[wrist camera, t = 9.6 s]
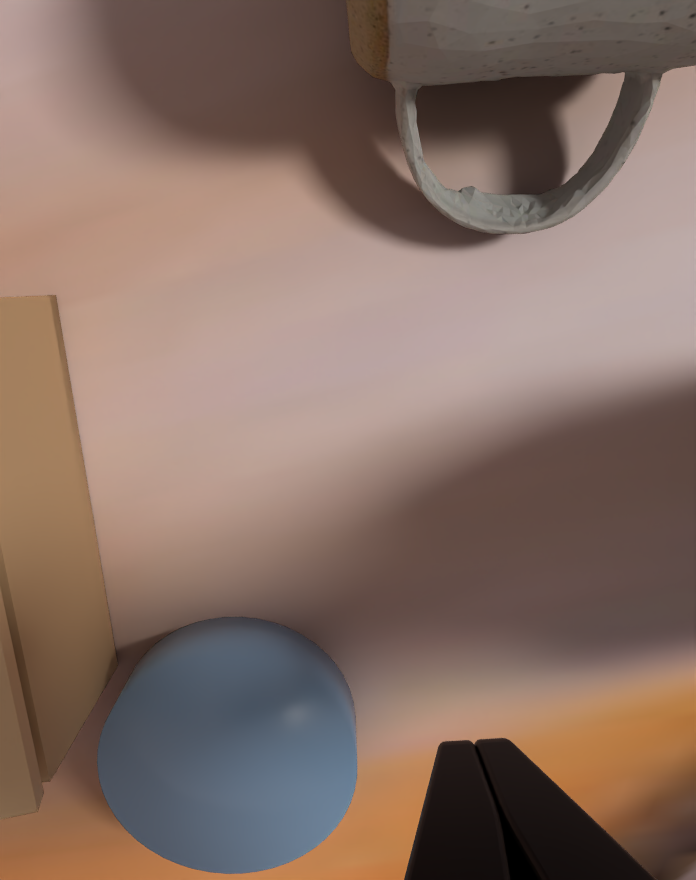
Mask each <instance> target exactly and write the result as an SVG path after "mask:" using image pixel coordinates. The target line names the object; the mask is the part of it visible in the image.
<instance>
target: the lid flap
mask: <svg viewBox="0 0 696 880" xmlns="http://www.w3.org/2000/svg"><path fill="white" fill-rule="evenodd" d="M43 794H44V791H43V786H42V782H41V777H40V772H39V768H38V763H37V758H36V753H35V749H34V744H33V739H32V735H31V730H30V725H29V720H28V716H27V711H26V706H25V701H24V697H23V692H22V687H21V683H20V678H19V673H18V668H17V664H16V659H15V654H14V650H13V645H12V640H11V635H10V631H9V626H8V621H7V617H6V612H5V607H4V602H3V598H2V593H1V588H0V820H1V819H5V818H10V817H15V816H20V815H24V814H29V813H34V812H38V809H39V806H40V803H41V800H42V797H43Z"/></svg>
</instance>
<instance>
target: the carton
mask: <svg viewBox="0 0 696 880" xmlns="http://www.w3.org/2000/svg"><path fill="white" fill-rule="evenodd" d="M0 588H1V593H2V598H3V602H4V607H5V612H6V617H7V621H8V626H9V631H10V635H11V640H12V645H13V650H14V654H15V659H16V664H17V668H18V673H19V678H20V683H21V687H22V692H23V697H24V701H25V706H26V711H27V716H28V720H29V725H30V730H31V735H32V739H33V744H34V749H35V753H36V758H37V763H38V768H39V772H40V777H41V782H50V781H51V779H52V777H53V776H54V774H55V772H56V770H57V769H58V767H59V765H60V764H61V762H62V760H63V758H64V757H65V755H66V753H67V752H68V750H69V748H70V746H71V745H72V743H73V741H74V740H75V738H76V736H77V734H78V733H79V731H80V729H81V728H82V726H83V724H84V723H85V721H86V719H87V717H88V716H89V714H90V712H91V711H92V709H93V707H94V705H95V704H96V702H97V700H98V699H99V697H100V695H101V693H102V692H103V690H104V688H105V687H106V685H107V683H108V681H109V680H110V678H111V676H112V675H113V673H114V671H115V669H116V668H117V666H118V663H117V657H116V651H115V645H114V639H113V633H112V627H111V622H110V616H109V610H108V604H107V598H106V592H105V586H104V580H103V574H102V568H101V562H100V556H99V550H98V544H97V538H96V532H95V526H94V520H93V514H92V508H91V502H90V496H89V490H88V484H87V478H86V472H85V466H84V460H83V454H82V448H81V442H80V436H79V431H78V425H77V419H76V413H75V407H74V401H73V395H72V389H71V383H70V377H69V371H68V365H67V359H66V353H65V347H64V341H63V335H62V329H61V323H60V317H59V311H58V305H57V299H56V295H49V296H25V297H2V298H0Z"/></svg>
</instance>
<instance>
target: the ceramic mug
mask: <svg viewBox="0 0 696 880" xmlns="http://www.w3.org/2000/svg"><path fill="white" fill-rule="evenodd" d="M346 7H347V16H348V25H349V39H350V46H351V52H352V54H353V56H354V58H355V59H356V61H357V63H358V65H360V66H361V67H362V68H363V69H364V70H365V71H366V72H368V73H369V74H370V75H371V76H372V77H374V78H378V79H381V80H385V81H389V82H391V84H392V85H393V87H394V88H395V101H396V107H395V113H396V120H397V126H398V130H399V134H400V139H401V143H402V146H403V150H404V153H405V157H406V160H407V163H408V166H409V168H410V171H411V173H412V176H413V178H414V180H415V182H416V184H417V186H418V187H419V189H420V190H421V192H422V193H423V194H424V196H425V197H426V199H427V200H428V201H429V202H430V203H431V204H432V205H433V206H434V207H435V208H436V209H437V210H438V211H439V212H440V213H441V214H443V215H444V216H446V217H447V218H449V219H451V220H452V221H454V222H456V223H457V224H459V225H461V226H463V227H465V228H469V229H474V230H477V231H479V232H484V233H494V234H525V233H530V232H534V231H539V230H543V229H547V228H551V227H554V226H556V225H558V224H560V223H562V222H564V221H566V220H568V219H570V218H572V217H573V216H575V215H576V214H577V213H579V212H580V211H581V210H582V209H584V208H585V207H586V206H587V205H588V204H589V203H590V202H592V201H593V200H594V199H595V198H596V197H597V196H598V195H599V194H600V193H601V192H602V191H603V190H604V189H605V188H606V187H607V186H608V185H609V183H610V182H611V180H612V179H613V178H614V176H615V175H616V174H617V173H618V172H619V170H620V169H621V167H622V166H623V164H624V163H625V161H626V159H627V158H628V156H629V154H630V152H631V151H632V149H633V147H634V146H635V144H636V142H637V141H638V138H639V136H640V134H641V131H642V129H643V127H644V124H645V122H646V120H647V117H648V115H649V113H650V111H651V108H652V105H653V101H654V98H655V96H656V93H657V91H658V89H659V86H660V81H661V77H662V74H663V73H665V72H667V71H669V70H671V69H674V68H681V67H688V66H694V65H696V0H346ZM621 72H625V78H624V82H623V84H622V88H621V91H620V95H619V98H618V101H617V104H616V107H615V109H614V111H613V114H612V116H611V119H610V121H609V123H608V126H607V128H606V129H605V131H604V133H603V135H602V137H601V139H600V141H599V143H598V144H597V146H596V148H595V150H594V152H593V153H592V155H591V156H590V157H589V158H588V160H587V161H586V163H585V164H584V165H583V166H582V167H581V168H580V169H579V171H578V173H577V174H575V175H574V176H573V177H572V178H571V179H570V180H568V181H567V182H566V183H565V184H563V185H562V186H560V187H558V188H556V189H551V190H548V191H547V192H545V193H543V194H538V195H533V194H512V195H497V194H489V193H481V192H480V191H479V190H477V189H476V188H475V187H472V186H470V187H465V188H462V189H461V190H460V191H455V190H452V189H447V188H445V187H444V186H443V185H442V184H441V183H440V182H439V181H438V179H437V178H436V176H435V175H434V174H433V172H432V171H431V170H430V168H429V167H428V166H427V165H426V163H425V162H424V159H423V153H422V148H421V143H420V137H419V133H418V128H417V123H416V118H417V111H416V105H415V100H416V96H417V92H418V89H419V88H420V87H422V86H428V85H444V84H455V83H466V82H477V81H498V80H500V79H504V78H510V77H533V76H569V75H593V74H599V73H613V74H615V73H621Z"/></svg>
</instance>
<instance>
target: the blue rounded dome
mask: <svg viewBox="0 0 696 880" xmlns="http://www.w3.org/2000/svg"><path fill="white" fill-rule="evenodd" d="M97 766H98V775H99V780H100V784H101V788H102V791H103V794H104V796H105V798H106V801H107V803H108V805H109V807H110V809H111V810H112V812H113V813H114V815H115V817H116V818H117V819H118V821H119V822H120V823H121V824H122V826H123V827H124V828H125V829H126V830H127V831H128V832H129V833H130V834H131V835H132V836H133V837H134V838H135V839H136V840H137V841H139V842H140V843H141V844H143V845H144V846H145V847H147V848H148V849H149V850H151V851H153V852H155V853H156V854H158V855H160V856H161V857H163V858H165V859H168V860H170V861H172V862H175V863H177V864H180V865H183V866H186V867H189V868H192V869H197V870H202V871H207V872H214V873H224V874H235V873H250V872H258V871H262V870H267V869H271V868H275V867H277V866H280V865H283V864H286V863H289V862H291V861H293V860H295V859H297V858H299V857H301V856H303V855H304V854H306V853H308V852H309V851H311V850H312V849H314V848H315V847H316V846H318V845H319V844H320V843H321V842H322V841H324V840H325V839H326V838H327V837H328V836H329V835H330V834H331V832H332V831H333V830H334V829H335V828H336V827H337V825H338V824H339V822H340V821H341V820H342V818H343V817H344V815H345V813H346V811H347V809H348V807H349V805H350V803H351V800H352V797H353V793H354V790H355V785H356V779H357V745H356V716H355V708H354V702H353V698H352V695H351V692H350V689H349V686H348V684H347V682H346V680H345V678H344V676H343V674H342V673H341V671H340V670H339V668H338V667H337V665H336V664H335V663H334V662H333V661H332V659H331V658H330V657H329V656H328V655H327V654H326V653H325V652H324V651H323V650H322V649H321V648H320V647H318V646H317V645H316V644H315V643H314V642H312V641H311V640H309V639H308V638H306V637H305V636H303V635H301V634H299V633H297V632H295V631H293V630H291V629H290V628H287V627H285V626H282V625H279V624H276V623H273V622H269V621H265V620H261V619H255V618H246V617H222V618H214V619H208V620H204V621H200V622H196V623H193V624H190V625H188V626H185V627H183V628H180V629H178V630H176V631H175V632H173V633H171V634H169V635H167V636H166V637H164V638H163V639H162V640H160V641H159V642H157V643H156V644H155V645H154V646H153V647H152V648H151V649H150V650H149V651H148V652H147V653H145V654H144V656H143V657H142V658H141V660H140V661H139V662H138V664H137V665H136V666H135V668H134V670H133V672H132V673H131V675H130V677H129V679H128V681H127V683H126V684H125V686H124V688H123V690H122V692H121V694H120V696H119V697H118V699H117V701H116V703H115V705H114V707H113V709H112V710H111V712H110V714H109V716H108V718H107V720H106V722H105V724H104V727H103V730H102V733H101V736H100V741H99V746H98V756H97Z"/></svg>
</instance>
